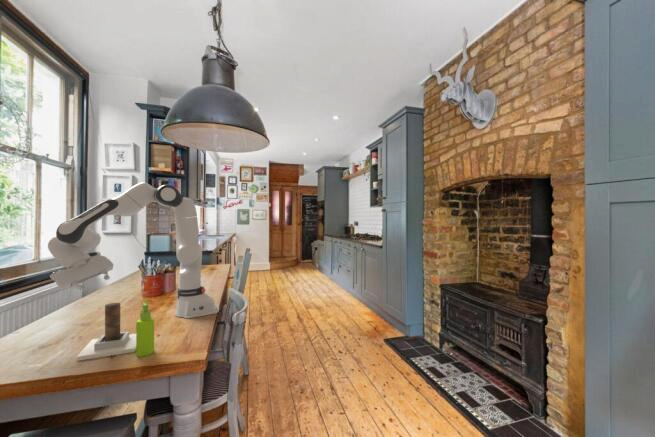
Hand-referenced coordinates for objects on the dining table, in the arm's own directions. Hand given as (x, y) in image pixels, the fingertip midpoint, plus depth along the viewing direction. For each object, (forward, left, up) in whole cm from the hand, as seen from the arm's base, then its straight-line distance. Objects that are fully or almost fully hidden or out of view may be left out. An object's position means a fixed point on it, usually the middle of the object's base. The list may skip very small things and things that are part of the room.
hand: (96, 284), depth 124 cm
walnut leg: (-9, +14, -22) cm, 28 cm away
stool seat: (-9, +14, -24) cm, 29 cm away
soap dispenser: (-22, +25, -24) cm, 41 cm away
